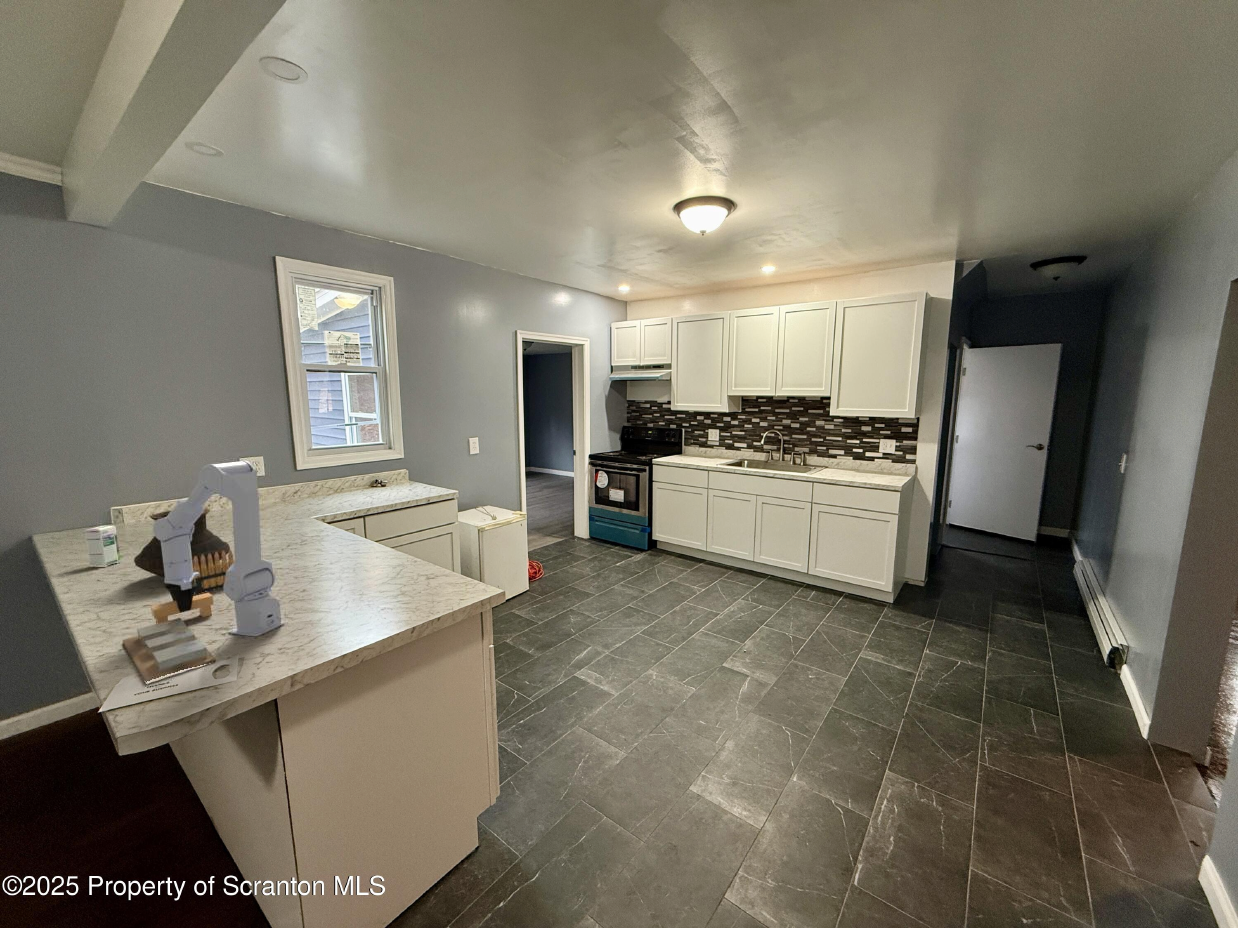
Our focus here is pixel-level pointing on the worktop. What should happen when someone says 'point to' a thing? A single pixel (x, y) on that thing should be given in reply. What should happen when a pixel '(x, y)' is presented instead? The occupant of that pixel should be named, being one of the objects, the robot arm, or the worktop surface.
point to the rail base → (147, 663)
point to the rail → (171, 644)
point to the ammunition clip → (211, 572)
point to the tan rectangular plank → (171, 608)
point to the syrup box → (102, 545)
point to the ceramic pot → (199, 545)
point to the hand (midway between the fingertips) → (183, 608)
